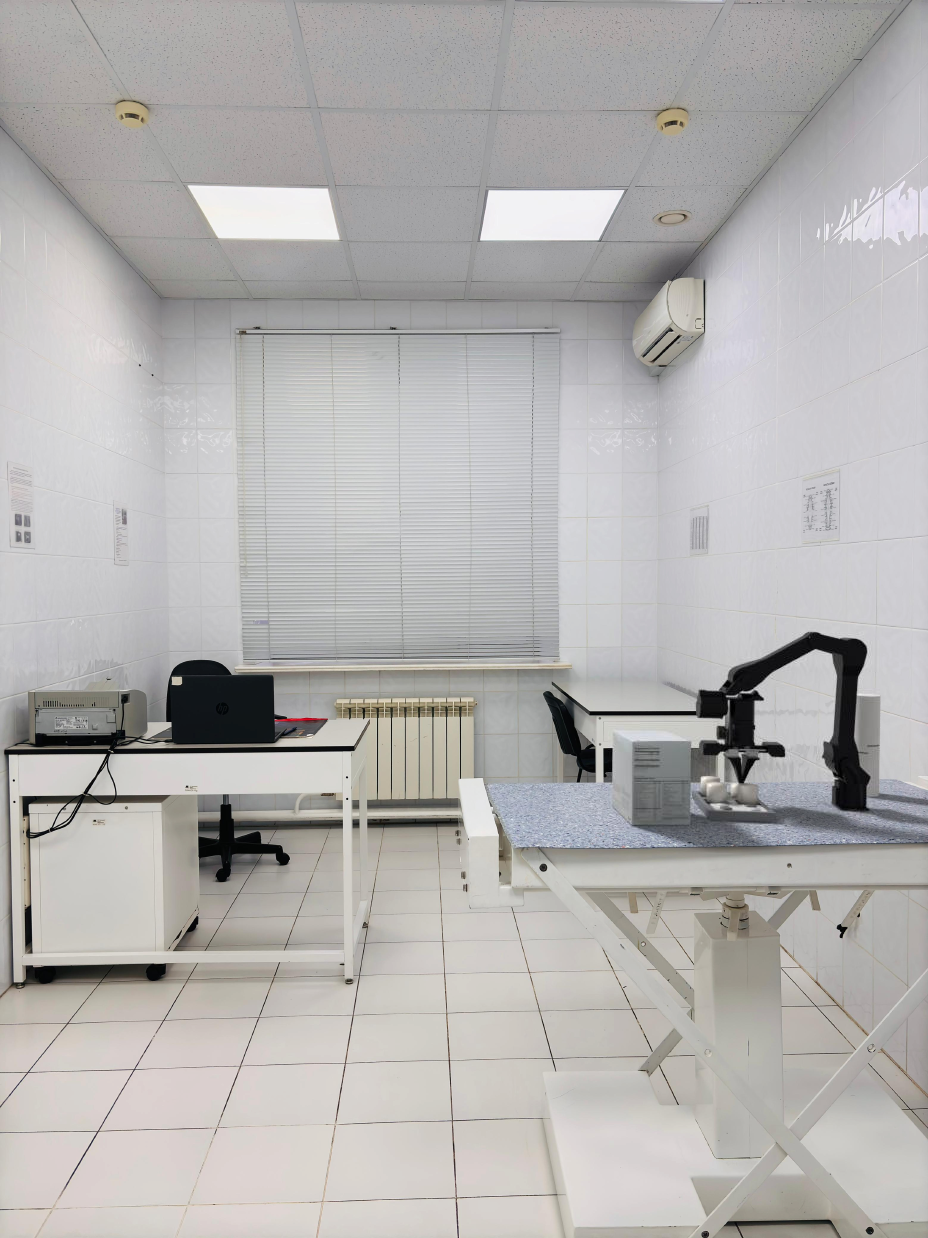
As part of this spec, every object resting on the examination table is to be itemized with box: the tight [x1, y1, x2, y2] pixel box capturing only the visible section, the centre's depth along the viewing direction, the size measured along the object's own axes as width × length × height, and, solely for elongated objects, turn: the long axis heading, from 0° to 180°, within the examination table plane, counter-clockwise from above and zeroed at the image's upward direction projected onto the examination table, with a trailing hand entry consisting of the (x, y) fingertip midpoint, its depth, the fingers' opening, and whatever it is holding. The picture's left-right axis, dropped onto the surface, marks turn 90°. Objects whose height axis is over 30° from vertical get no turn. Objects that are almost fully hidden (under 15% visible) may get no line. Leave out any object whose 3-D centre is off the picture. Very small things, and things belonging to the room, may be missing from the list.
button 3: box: [730, 782, 738, 798], centre depth 192 cm, size 4×4×4 cm
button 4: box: [738, 782, 759, 805], centre depth 185 cm, size 4×4×4 cm
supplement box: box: [611, 729, 692, 826], centre depth 180 cm, size 17×13×18 cm
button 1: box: [700, 775, 721, 796], centre depth 192 cm, size 4×4×4 cm
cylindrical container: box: [854, 692, 881, 798], centre depth 204 cm, size 7×7×25 cm
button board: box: [691, 790, 776, 823], centre depth 186 cm, size 14×20×2 cm
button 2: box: [707, 782, 728, 804], centre depth 185 cm, size 4×4×4 cm
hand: (740, 785), depth 192 cm, fingers closed, pressing on button 3
